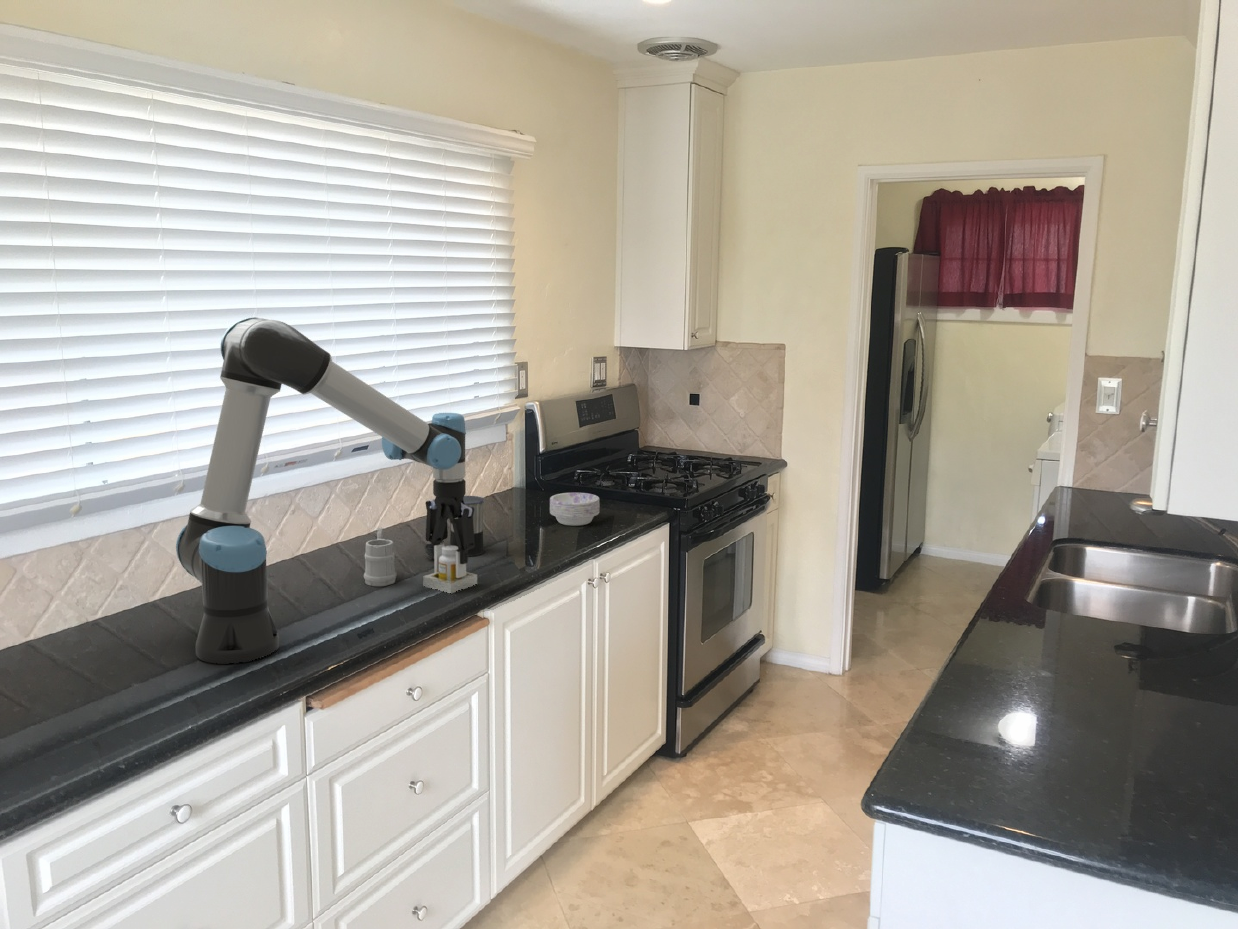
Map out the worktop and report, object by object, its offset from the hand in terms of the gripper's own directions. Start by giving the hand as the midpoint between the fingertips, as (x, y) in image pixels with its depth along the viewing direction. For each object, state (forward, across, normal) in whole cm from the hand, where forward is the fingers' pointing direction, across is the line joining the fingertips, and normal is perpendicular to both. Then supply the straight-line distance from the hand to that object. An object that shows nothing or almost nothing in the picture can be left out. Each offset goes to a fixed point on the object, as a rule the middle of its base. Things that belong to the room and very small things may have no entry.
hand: (450, 573), depth 229 cm
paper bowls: (+3, +14, -69) cm, 71 cm away
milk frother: (+3, +17, -20) cm, 27 cm away
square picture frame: (+3, 0, 0) cm, 3 cm away
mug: (+3, +16, +7) cm, 18 cm away
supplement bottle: (+3, 0, 0) cm, 3 cm away
